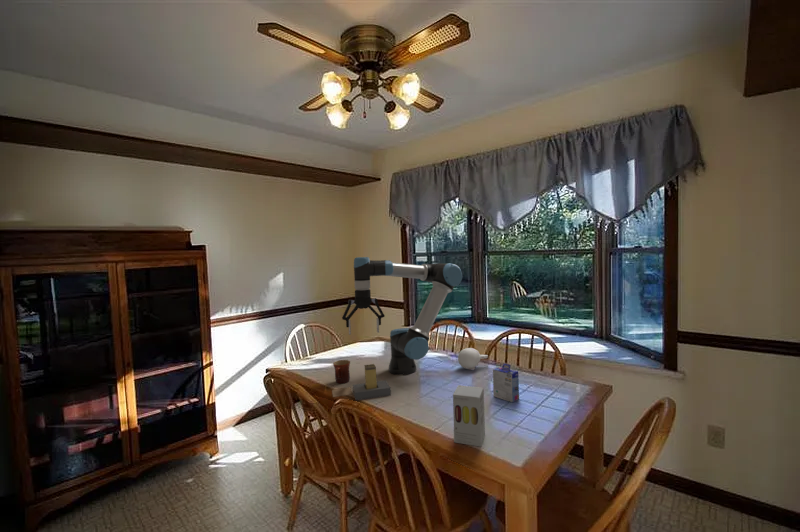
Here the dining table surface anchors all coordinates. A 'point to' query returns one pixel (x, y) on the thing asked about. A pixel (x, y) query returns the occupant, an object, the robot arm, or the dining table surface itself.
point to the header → (371, 390)
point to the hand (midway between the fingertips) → (364, 333)
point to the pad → (342, 392)
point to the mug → (342, 371)
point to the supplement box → (469, 415)
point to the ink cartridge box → (505, 383)
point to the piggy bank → (470, 358)
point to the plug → (370, 376)
